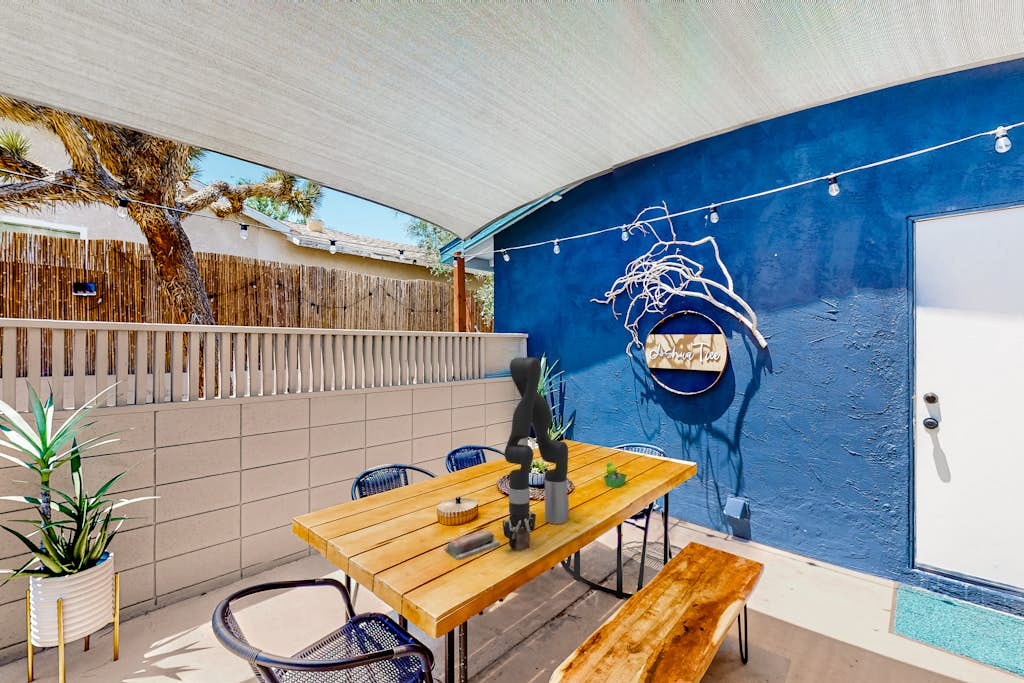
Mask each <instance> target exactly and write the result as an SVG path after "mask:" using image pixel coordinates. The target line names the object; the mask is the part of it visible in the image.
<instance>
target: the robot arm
mask: <svg viewBox="0 0 1024 683" xmlns="http://www.w3.org/2000/svg"><path fill="white" fill-rule="evenodd" d="M509 371H510V372H509V373H510V377H511V378H512V381H513V383H514V385H515V387H516V389H517V392H518V393H519V396H520V397H521V399H520V401H519V402H518V404H517V406H516V408H514V412H513V415H512V420H511V421H512V423H511V424H512V425H511V432H510V434H509V438H508V440H507V444H506V446H505V449H504V458H505V461H506V462H507V463H509V464H514V465H520V468H519V469H513V470H511V471H510V472H509V489H508V490H509V491H508V512H509V518H508V519H507V520H502V530H503V535H504V537H505V538H508V542H509V543H508V545H509V547H510V548H511V549H512V550H514V549H515V535H516V533H517V532H518V529H519V528H521V527H522V528H523V529H525V530H527V531H529V542H530V540H531V539H530V538H531V532H532V531H534V530H535V528H536V527H535V526H536V518H537V514H536V513H534V512H532V511H531V510H530V508H531V507H530V506H531V505H530V504H531V503H530V488H529V486H530V484H529V483H530V482H529V481H530V480H529V479H530V478H529V476H530V471H531V467H532V465H533V464H532V463H533V460H534V451H533V449H532V447H531V446H529V445H526V444H519V442H520V440H523V439H529V438H530V435H531V429H533V432H534V435H535V438H536V442H537V446H538V447H537V448H538V450H539V454H540V457H541V459H542V460H543V461H544V462H547V463H550V464H555V468H552V469H549V470H546V471H545V472H544V520H546V521H547V522H546V521H545V522H546V523H548V522H549V523H548V524H551V523H553V524H552V525H560V524H561V523H563V524H565V523H567V521H568V520H570V516H569V515H570V508H569V506H570V504H569V497H568V494H567V493H568V491H567V490H568V486H567V484H568V482H567V481H568V479H567V478H568V476H567V475H568V469H569V468H568V466H569V448H568V445H567V443H566V442H565V441H559V440H552V439H551V438H550V437H549V429H550V427H551V424H552V421H553V415H552V411H551V407H550V405H549V403H548V401H547V400H546V398H545V397H544V396H543V395H542V394H541V393H540V392H539V391H538V389H539V386H540V380H541V375H542V363H541V361H540V360H539V359H538V358H537V357H515V358H513V359H512V360H510V364H509ZM567 519H568V520H567ZM564 522H565V523H564ZM561 525H562V524H561ZM512 533H513V534H512Z"/></svg>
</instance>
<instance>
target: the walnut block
mask: <svg viewBox="0 0 1024 683" xmlns="http://www.w3.org/2000/svg"><path fill="white" fill-rule="evenodd" d="M512 534H513V533H512ZM527 548H528V549H530V541H529V531H527V530H525V529H523V527H521V528H519V529H518V532H517V533H516V535H515V551H516V550H517V551H520V552H522V551H521V550H523V551H525V550H528V549H527ZM524 549H525V550H524Z"/></svg>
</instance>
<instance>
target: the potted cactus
mask: <svg viewBox="0 0 1024 683" xmlns="http://www.w3.org/2000/svg"><path fill="white" fill-rule="evenodd" d="M606 473H607V474H606V475H603V479H604V482H605V486H606V487H609V488H612V487H613V489H616V488H619V487H621V486H623V485H625V483H626V479H627V477H628V476H627V474H625V473H621V472H618V467H616V466H615V465H614V464H613V463H612V462H607V464H606Z"/></svg>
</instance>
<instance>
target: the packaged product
mask: <svg viewBox="0 0 1024 683" xmlns="http://www.w3.org/2000/svg"><path fill="white" fill-rule="evenodd" d="M494 538H495V535H494V533H493V532H492V531H490V530H486V529H482V530H479V531H476V532H472V533H470V534H466V535H462V536H458V537H456V538H453V539H450V540H448V544H447V546H446V547H444V549H443V550H444V551H445V552H447V553H448V554H449V555H450V556H452V557H453V558H454V559H455V560H457V561H460V560H461V561H462V560H463V559H466V558H469V557H472V556H475V555H478V554H480V553H484V552H487V551H489V550H492V549H494V548H497V547H499V546H500V544H501V543H500V541H499V540H496V539H494ZM483 551H484V552H483Z"/></svg>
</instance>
